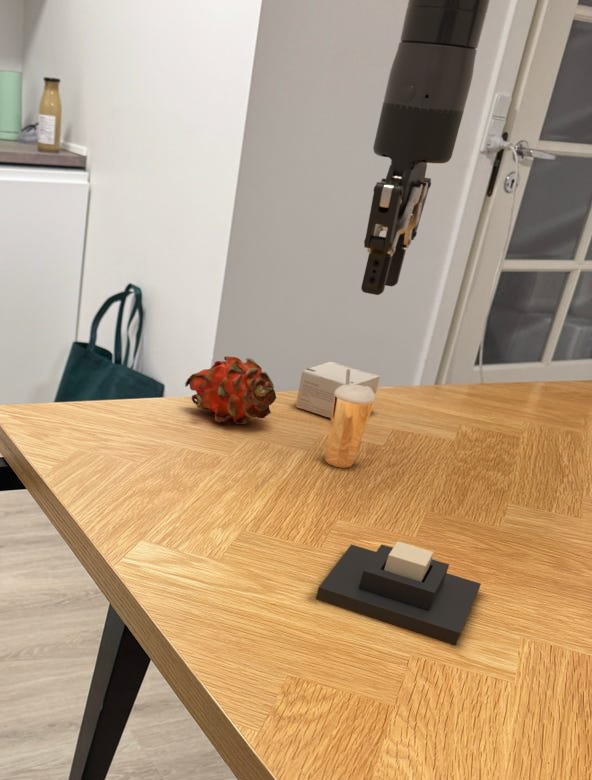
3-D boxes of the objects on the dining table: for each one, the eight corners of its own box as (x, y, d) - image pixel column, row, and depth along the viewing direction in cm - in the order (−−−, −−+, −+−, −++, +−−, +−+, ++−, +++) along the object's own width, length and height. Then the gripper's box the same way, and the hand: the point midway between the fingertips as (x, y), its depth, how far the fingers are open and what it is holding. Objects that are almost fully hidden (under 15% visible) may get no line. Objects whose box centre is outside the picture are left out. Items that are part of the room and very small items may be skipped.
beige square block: (428, 569, 78) (434, 551, 77) (420, 584, 75) (426, 565, 74) (392, 558, 79) (397, 540, 78) (383, 572, 76) (388, 554, 75)
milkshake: (346, 452, 107) (366, 370, 102) (364, 470, 103) (386, 385, 97) (311, 452, 106) (329, 368, 101) (327, 470, 102) (348, 383, 96)
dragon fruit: (272, 446, 111) (184, 436, 116) (292, 392, 114) (205, 385, 119) (260, 401, 104) (167, 392, 109) (282, 345, 107) (190, 339, 112)
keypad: (477, 594, 80) (487, 565, 78) (455, 645, 73) (467, 614, 71) (348, 555, 84) (355, 526, 83) (315, 598, 77) (323, 568, 75)
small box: (372, 412, 121) (382, 375, 118) (344, 424, 116) (353, 385, 113) (323, 396, 125) (331, 360, 122) (293, 407, 120) (301, 369, 117)
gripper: (449, 107, 78) (397, 307, 87) (477, 107, 89) (428, 285, 98) (365, 97, 80) (324, 292, 90) (402, 98, 91) (362, 273, 101)
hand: (379, 288), depth 94 cm, fingers open, 5 cm apart
